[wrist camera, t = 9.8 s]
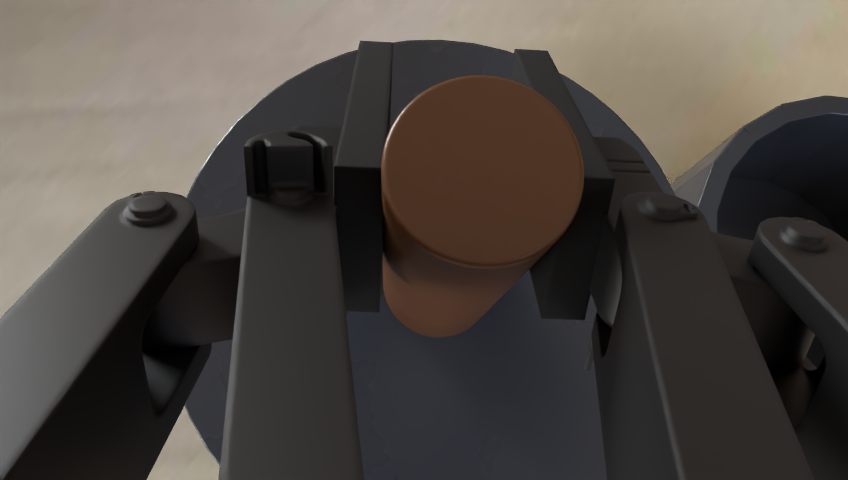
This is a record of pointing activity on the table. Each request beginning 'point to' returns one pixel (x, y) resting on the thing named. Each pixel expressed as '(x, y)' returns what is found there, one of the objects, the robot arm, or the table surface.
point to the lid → (449, 269)
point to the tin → (777, 174)
